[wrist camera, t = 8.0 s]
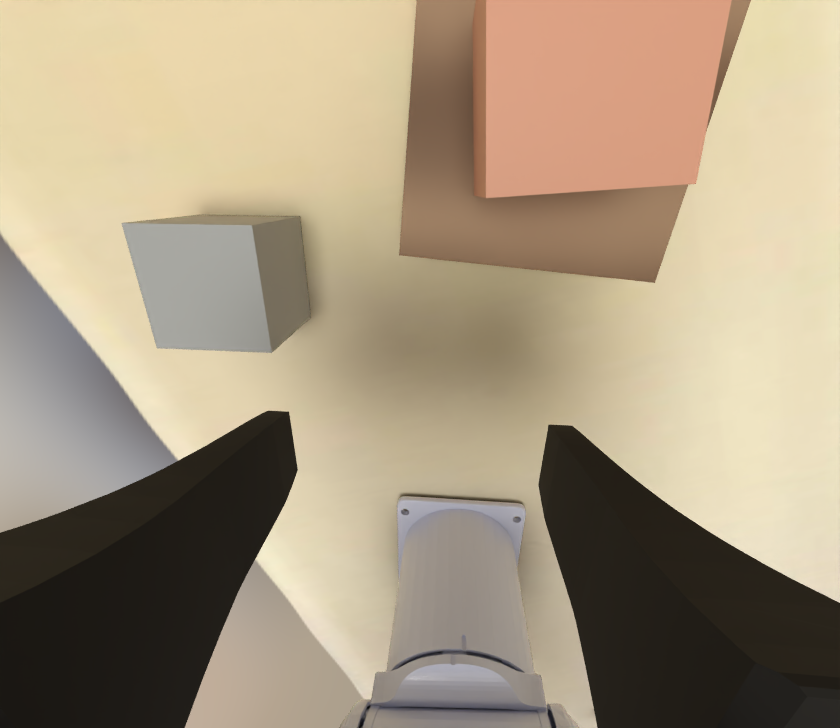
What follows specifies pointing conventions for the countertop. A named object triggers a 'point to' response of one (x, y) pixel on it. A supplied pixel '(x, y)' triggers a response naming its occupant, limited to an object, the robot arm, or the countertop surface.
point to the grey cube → (221, 280)
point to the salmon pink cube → (592, 93)
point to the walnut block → (516, 215)
